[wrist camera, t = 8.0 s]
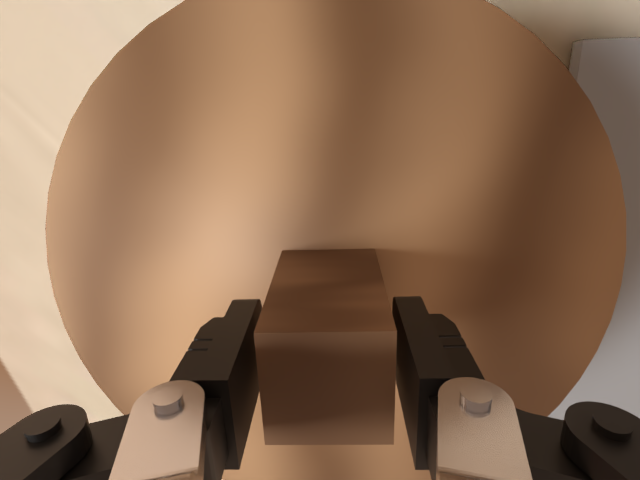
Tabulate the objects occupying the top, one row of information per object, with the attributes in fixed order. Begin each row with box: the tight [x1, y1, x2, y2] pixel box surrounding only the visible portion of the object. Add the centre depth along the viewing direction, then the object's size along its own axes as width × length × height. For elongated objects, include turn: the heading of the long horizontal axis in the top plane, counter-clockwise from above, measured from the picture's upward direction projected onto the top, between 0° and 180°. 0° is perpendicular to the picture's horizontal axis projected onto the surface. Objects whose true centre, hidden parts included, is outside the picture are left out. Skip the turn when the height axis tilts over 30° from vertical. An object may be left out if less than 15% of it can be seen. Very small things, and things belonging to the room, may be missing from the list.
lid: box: [45, 0, 626, 480], centre depth 12 cm, size 19×19×6 cm
